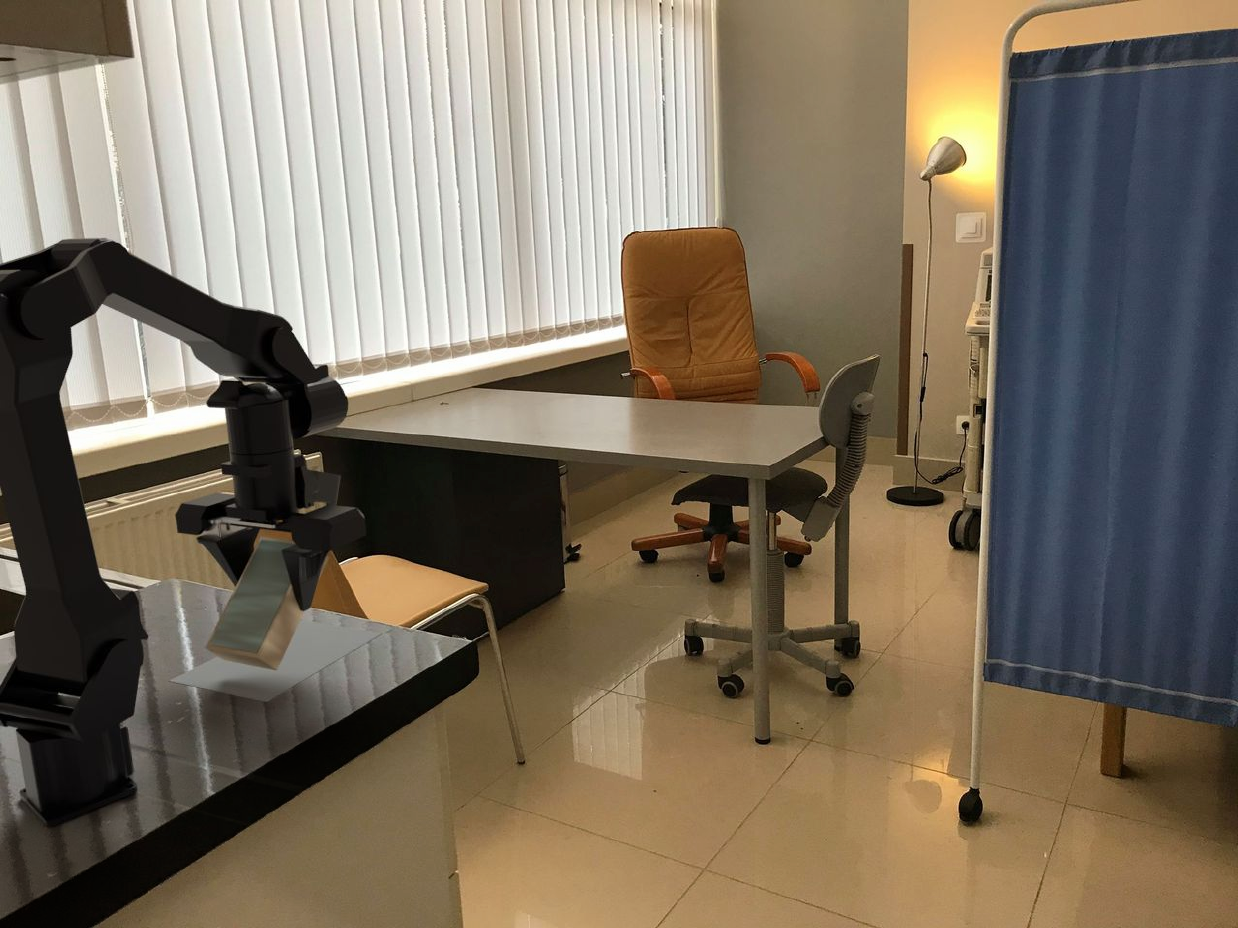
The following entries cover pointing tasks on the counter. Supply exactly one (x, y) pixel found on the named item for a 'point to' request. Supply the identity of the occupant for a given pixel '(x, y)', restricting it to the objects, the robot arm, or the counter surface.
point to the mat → (301, 660)
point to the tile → (259, 610)
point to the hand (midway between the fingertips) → (278, 604)
